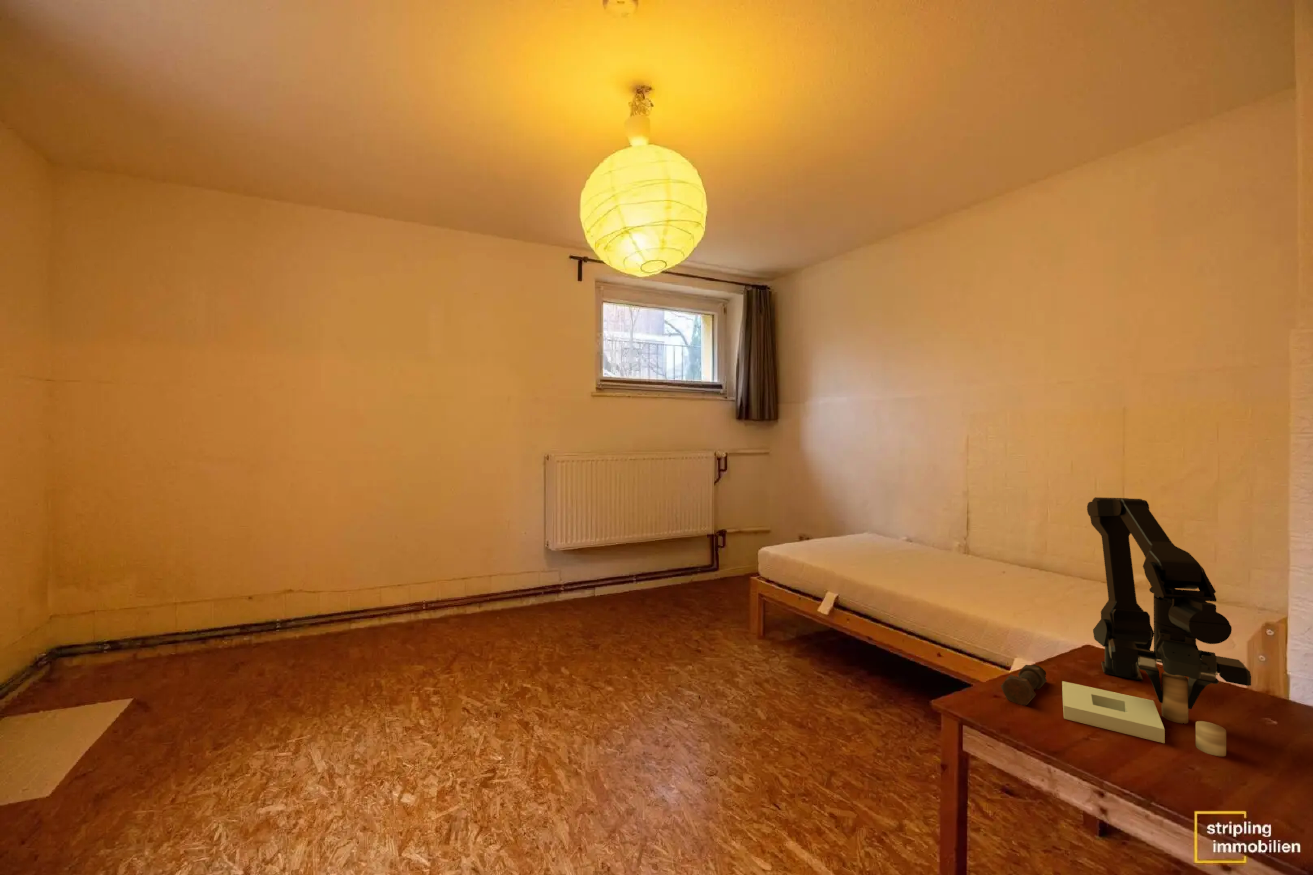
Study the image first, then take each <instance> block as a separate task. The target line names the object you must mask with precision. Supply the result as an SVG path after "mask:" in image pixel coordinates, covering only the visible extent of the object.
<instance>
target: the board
mask: <svg viewBox="0 0 1313 875" xmlns="http://www.w3.org/2000/svg"><path fill="white" fill-rule="evenodd" d="M1061 689H1062V690H1061V695H1062V708H1063V709H1062V711H1063V719H1064V720H1068V721H1073V722H1075V723H1081V724H1085V725H1088V726H1092V727H1097V728H1099V729H1100V728H1101V729H1103V730H1104V729H1105V730H1109V731H1113V732H1117V733H1120V734H1125V735H1128V736H1133V737H1137V738H1141V739H1146V740H1148V741H1154V742H1158V743H1162V744H1165V743H1166V742H1165V741H1166V740H1165V739H1166V738H1165V737H1166V736H1165V735H1166V734H1165V733H1166V732H1165V731H1166V729H1165V727H1164V724H1163V722H1162V719H1161V716H1160V714H1159V712H1158V708H1157V707H1156V703H1155V701H1154V700H1152V699H1147V698H1143V697H1138V696H1134V695H1128V694H1123V693H1119V692H1114V691H1111V690H1106V689H1101V688H1098V687H1091V686H1087V685H1082V684H1078V683H1073V682H1068V681H1063V680H1062V681H1061Z"/></svg>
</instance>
